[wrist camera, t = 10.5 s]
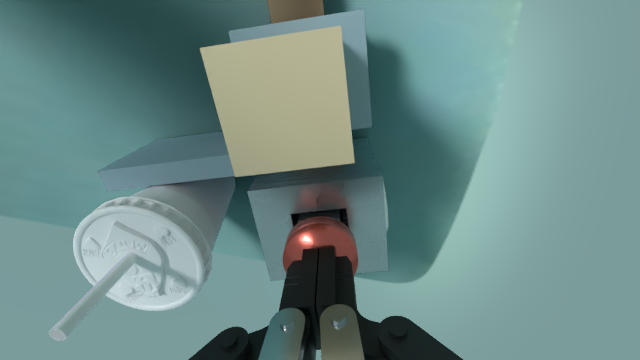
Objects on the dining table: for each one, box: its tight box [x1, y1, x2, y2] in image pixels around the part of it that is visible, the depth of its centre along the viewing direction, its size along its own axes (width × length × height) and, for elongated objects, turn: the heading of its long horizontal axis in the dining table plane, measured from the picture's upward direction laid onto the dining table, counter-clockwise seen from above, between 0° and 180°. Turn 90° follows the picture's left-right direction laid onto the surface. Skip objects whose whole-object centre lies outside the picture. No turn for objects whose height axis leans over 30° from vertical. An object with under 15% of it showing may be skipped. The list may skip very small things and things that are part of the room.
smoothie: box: [49, 176, 235, 341], centre depth 17 cm, size 6×6×14 cm
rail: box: [267, 0, 325, 24], centre depth 17 cm, size 5×16×2 cm, turn 8°
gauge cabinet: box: [247, 138, 389, 281], centre depth 20 cm, size 7×6×7 cm
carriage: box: [97, 9, 372, 191], centre depth 15 cm, size 15×7×11 cm, turn 98°
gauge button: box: [283, 209, 358, 276], centre depth 18 cm, size 4×4×7 cm
